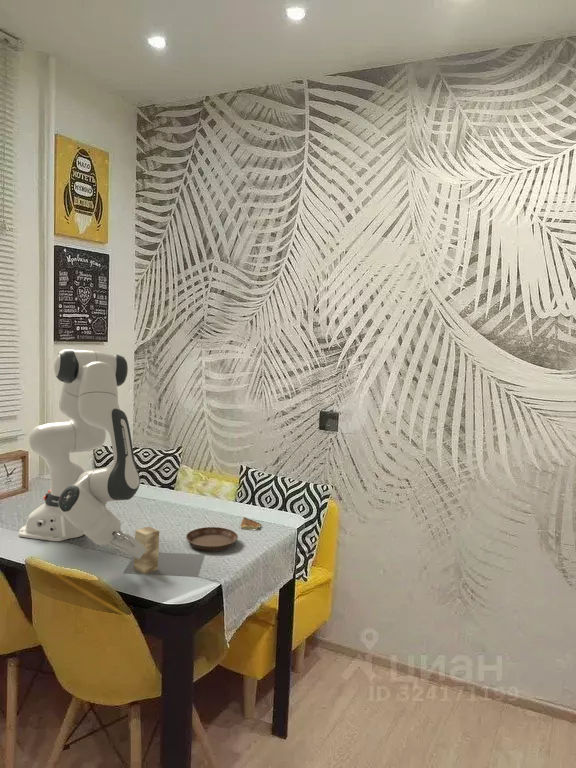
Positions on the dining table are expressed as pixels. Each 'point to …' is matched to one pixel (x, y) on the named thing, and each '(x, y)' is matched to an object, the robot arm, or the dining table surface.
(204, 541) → the plant saucer
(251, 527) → the pie slice
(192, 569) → the rubber mat
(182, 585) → the dining table surface
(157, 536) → the maple block
